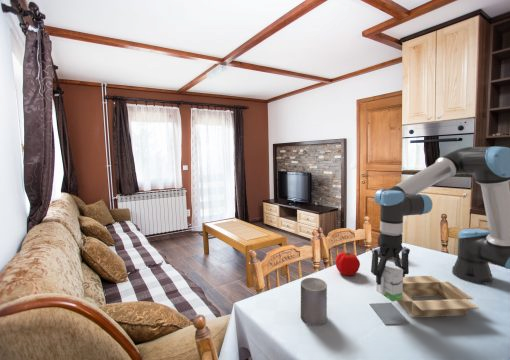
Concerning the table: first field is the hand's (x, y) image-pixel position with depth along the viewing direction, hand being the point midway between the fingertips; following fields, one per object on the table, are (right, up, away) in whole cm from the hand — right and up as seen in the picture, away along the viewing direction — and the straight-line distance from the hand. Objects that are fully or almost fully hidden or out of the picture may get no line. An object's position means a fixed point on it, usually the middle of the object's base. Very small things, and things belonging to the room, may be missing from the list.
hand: (388, 291), depth 103 cm
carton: (+18, -8, +6) cm, 21 cm away
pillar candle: (-29, -10, 0) cm, 30 cm away
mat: (0, -9, +1) cm, 9 cm away
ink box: (0, -2, 0) cm, 2 cm away
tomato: (-4, -5, +35) cm, 36 cm away
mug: (+26, -3, +54) cm, 60 cm away
